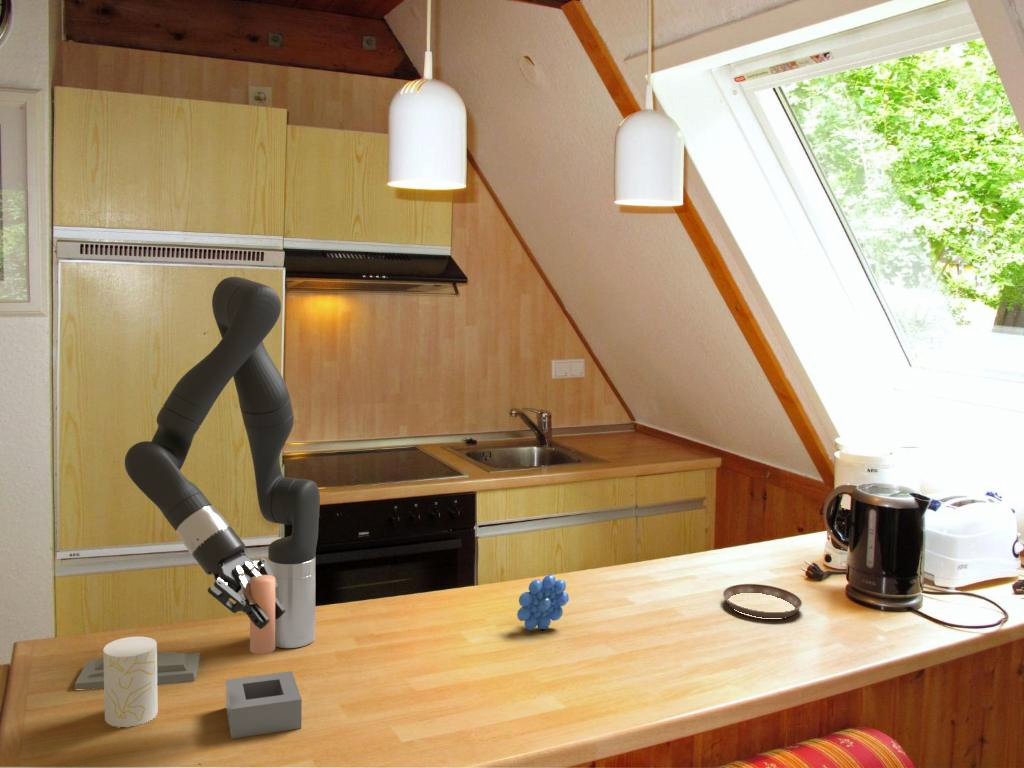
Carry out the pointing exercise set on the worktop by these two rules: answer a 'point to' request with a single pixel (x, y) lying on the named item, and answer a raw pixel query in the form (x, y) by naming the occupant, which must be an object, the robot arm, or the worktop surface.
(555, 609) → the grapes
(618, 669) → the worktop surface
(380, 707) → the worktop surface
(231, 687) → the socket block
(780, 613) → the dark grey ring
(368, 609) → the worktop surface
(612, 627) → the worktop surface
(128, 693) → the white patterned cylinder
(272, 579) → the peg
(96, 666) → the soap mold
